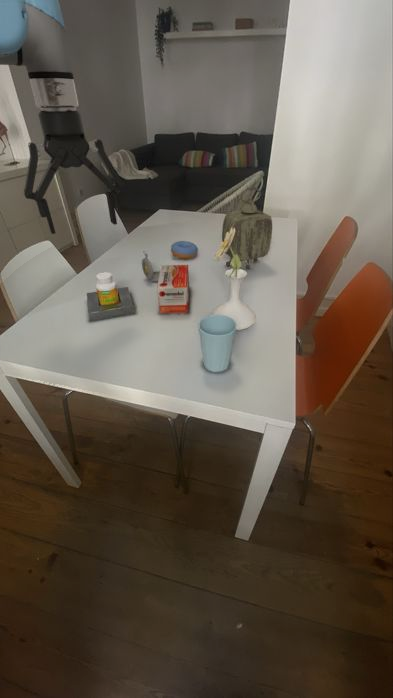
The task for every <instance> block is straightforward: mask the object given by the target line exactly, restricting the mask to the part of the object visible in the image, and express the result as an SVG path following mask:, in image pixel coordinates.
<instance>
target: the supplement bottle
mask: <svg viewBox="0 0 393 698" xmlns="http://www.w3.org/2000/svg"><path fill="white" fill-rule="evenodd" d="M95 278H96V280H97V282H96V284H95V288H96V292H97V293H98V297H99V302H100V306H102V305H108V304H114V303H121V302H120V300H119V296H118V291H117V288H118V285H117V283H116V280H114V279H113V274H112V273H111V272H110V271H109V272H108V271H102V272H98V273H97V275H96V277H95Z"/></svg>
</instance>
